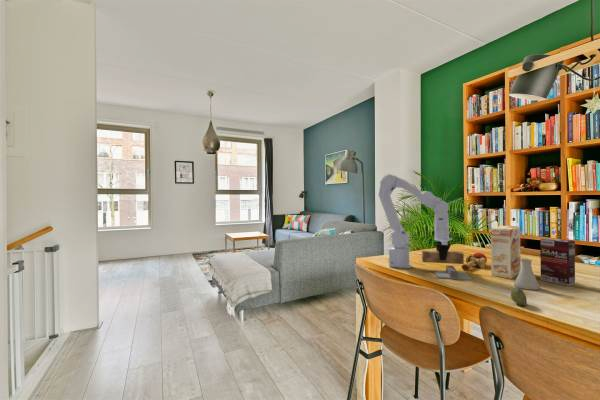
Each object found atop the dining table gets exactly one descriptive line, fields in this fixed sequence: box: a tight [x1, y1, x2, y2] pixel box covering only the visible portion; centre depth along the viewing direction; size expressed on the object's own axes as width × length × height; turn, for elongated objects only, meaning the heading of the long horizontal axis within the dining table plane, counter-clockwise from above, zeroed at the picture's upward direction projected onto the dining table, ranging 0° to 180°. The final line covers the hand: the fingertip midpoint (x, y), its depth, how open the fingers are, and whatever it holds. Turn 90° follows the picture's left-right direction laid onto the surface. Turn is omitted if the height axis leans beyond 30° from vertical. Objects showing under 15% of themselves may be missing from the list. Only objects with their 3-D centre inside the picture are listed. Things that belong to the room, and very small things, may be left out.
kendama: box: [461, 252, 488, 272], centre depth 126 cm, size 8×6×18 cm
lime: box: [510, 287, 528, 307], centre depth 82 cm, size 4×5×5 cm
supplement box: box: [539, 237, 576, 287], centre depth 102 cm, size 9×5×16 cm, turn 23°
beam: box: [421, 250, 465, 265], centre depth 122 cm, size 16×4×4 cm, turn 72°
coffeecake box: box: [490, 225, 521, 280], centre depth 115 cm, size 15×7×20 cm, turn 129°
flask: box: [513, 257, 541, 291], centre depth 98 cm, size 7×7×10 cm
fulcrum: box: [433, 265, 473, 281], centre depth 113 cm, size 12×9×3 cm
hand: (442, 258), depth 122 cm, fingers closed on beam, 4 cm apart
